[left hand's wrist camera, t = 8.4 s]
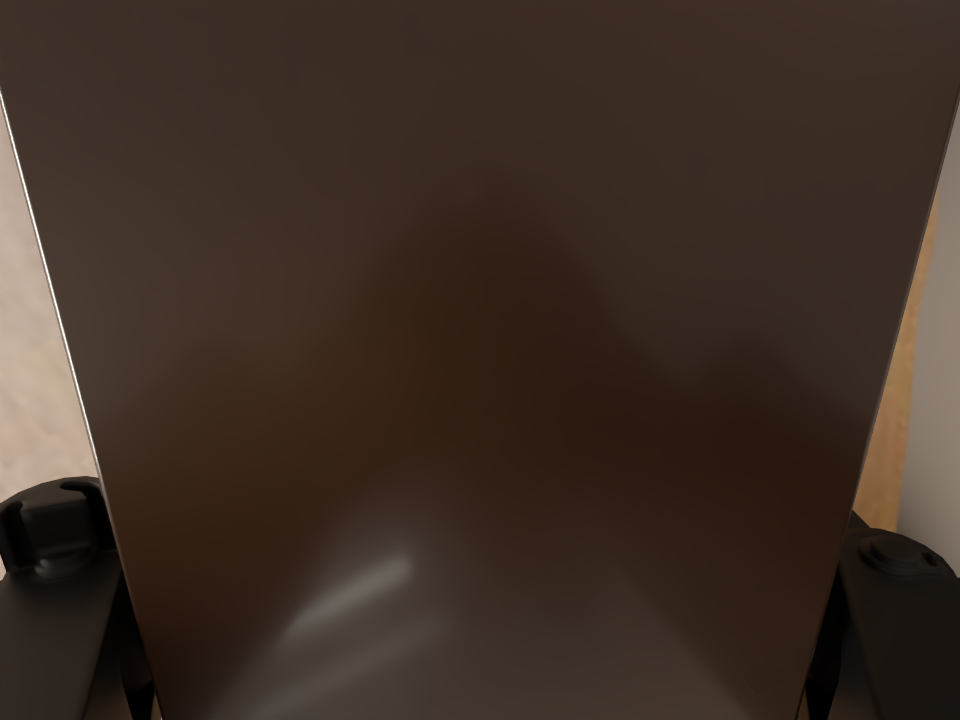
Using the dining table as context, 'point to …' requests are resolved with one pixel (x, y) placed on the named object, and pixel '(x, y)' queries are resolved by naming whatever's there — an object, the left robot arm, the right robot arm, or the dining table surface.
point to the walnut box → (479, 333)
